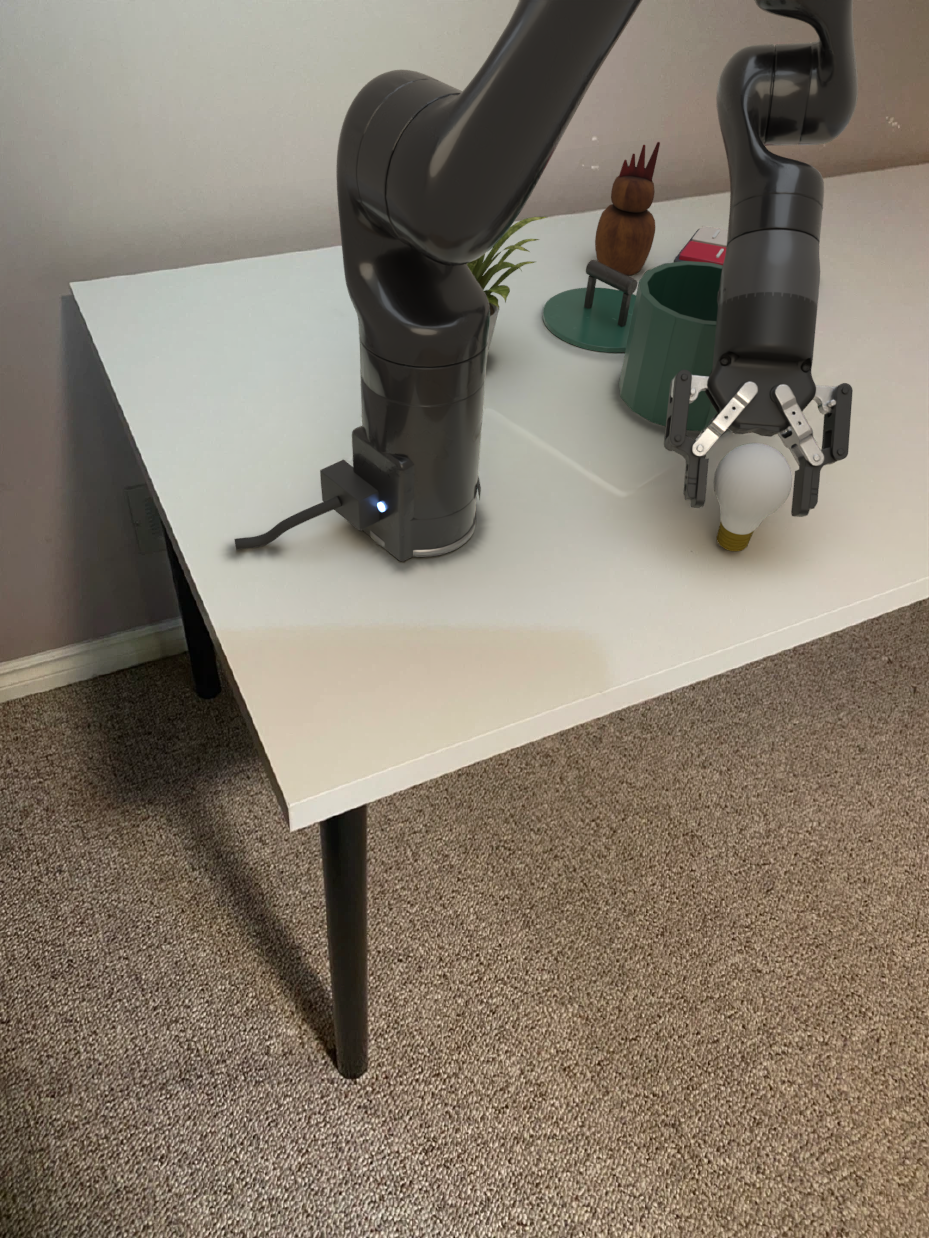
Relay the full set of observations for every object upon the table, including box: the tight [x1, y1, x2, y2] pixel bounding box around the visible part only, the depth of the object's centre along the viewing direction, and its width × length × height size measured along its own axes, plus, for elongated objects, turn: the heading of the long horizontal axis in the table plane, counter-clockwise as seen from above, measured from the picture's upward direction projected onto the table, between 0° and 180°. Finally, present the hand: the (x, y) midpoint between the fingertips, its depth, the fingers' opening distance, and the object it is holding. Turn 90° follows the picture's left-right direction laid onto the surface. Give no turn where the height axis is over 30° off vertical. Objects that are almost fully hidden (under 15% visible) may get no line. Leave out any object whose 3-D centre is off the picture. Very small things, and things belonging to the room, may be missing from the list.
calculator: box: [673, 225, 728, 265], centre depth 111 cm, size 11×4×15 cm
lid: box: [542, 259, 638, 354], centre depth 101 cm, size 14×14×6 cm
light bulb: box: [713, 442, 793, 552], centre depth 74 cm, size 6×6×10 cm
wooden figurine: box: [594, 141, 661, 276], centre depth 108 cm, size 7×6×15 cm
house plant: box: [467, 216, 547, 357], centre depth 90 cm, size 14×14×16 cm
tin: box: [618, 261, 723, 432], centre depth 89 cm, size 13×13×12 cm
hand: (748, 511), depth 73 cm, fingers open, 7 cm apart
